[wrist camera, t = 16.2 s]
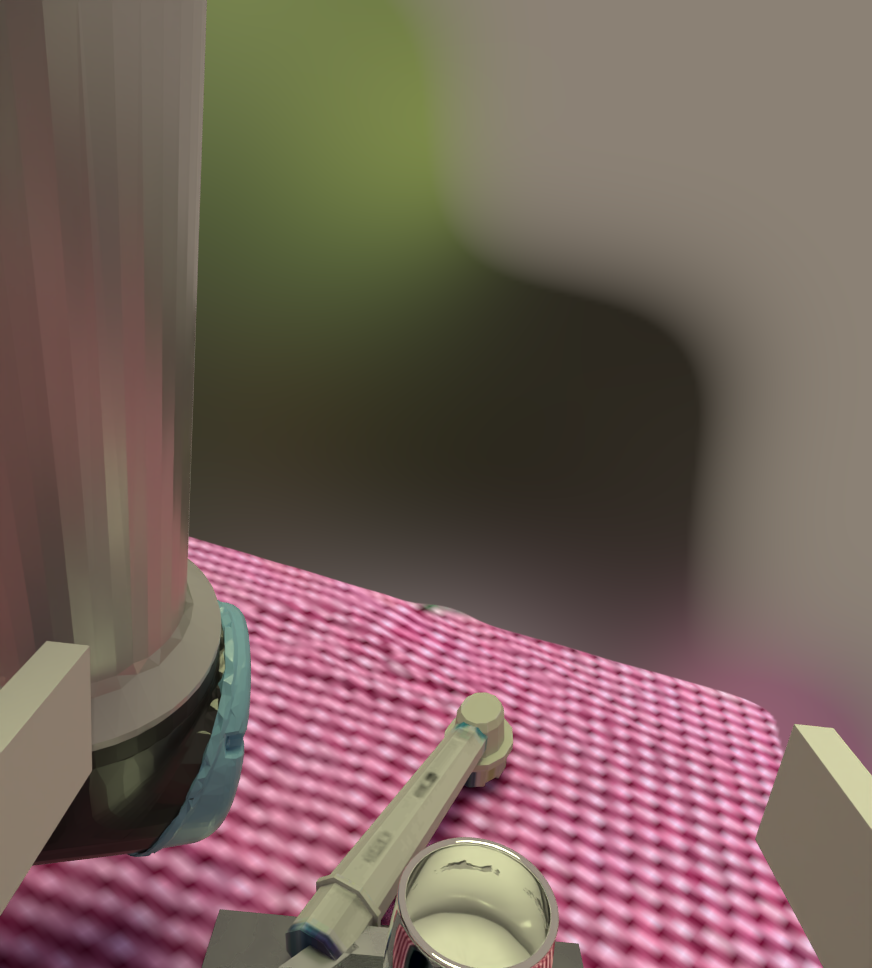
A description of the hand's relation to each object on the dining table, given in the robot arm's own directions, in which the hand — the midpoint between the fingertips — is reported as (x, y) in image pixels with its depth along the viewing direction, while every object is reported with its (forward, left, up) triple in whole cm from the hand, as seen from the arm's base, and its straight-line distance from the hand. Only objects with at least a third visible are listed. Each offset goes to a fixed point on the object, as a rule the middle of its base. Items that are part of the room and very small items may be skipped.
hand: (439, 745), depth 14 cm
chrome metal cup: (+4, +11, -31) cm, 33 cm away
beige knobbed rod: (+3, +30, -32) cm, 44 cm away
